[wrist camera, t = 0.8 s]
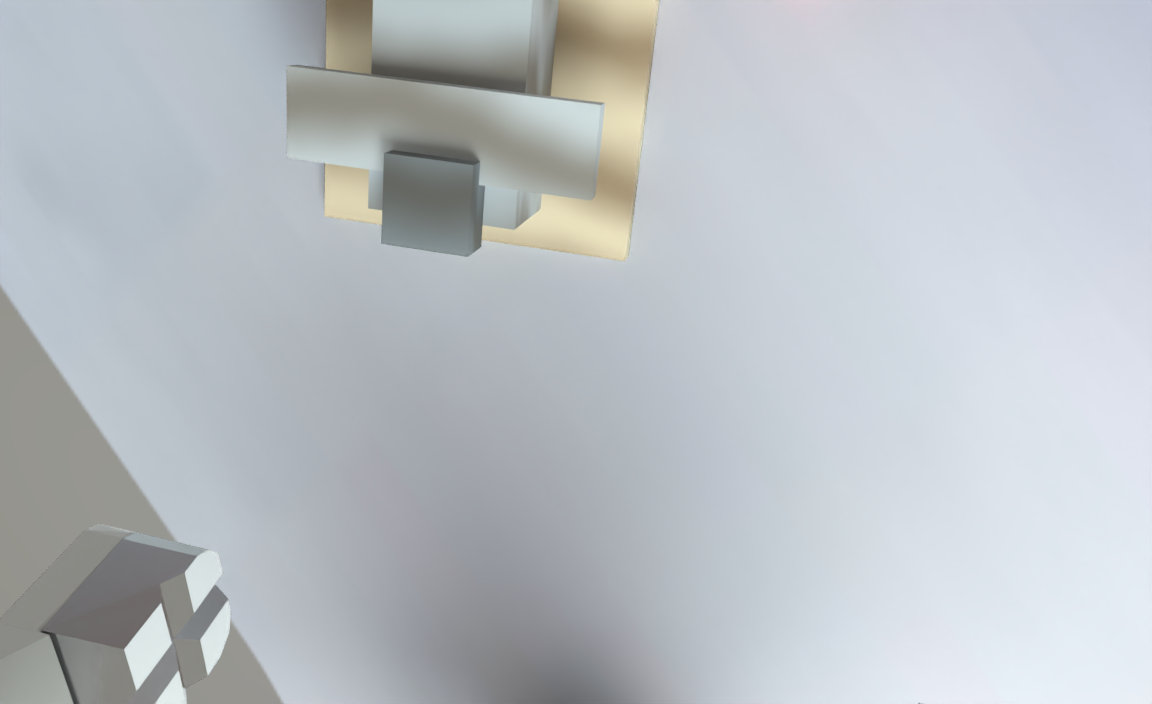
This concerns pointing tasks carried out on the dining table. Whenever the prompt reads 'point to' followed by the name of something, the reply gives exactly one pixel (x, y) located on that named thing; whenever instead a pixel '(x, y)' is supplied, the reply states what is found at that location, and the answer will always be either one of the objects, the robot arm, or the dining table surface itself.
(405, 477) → the dining table surface
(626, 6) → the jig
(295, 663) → the dining table surface
